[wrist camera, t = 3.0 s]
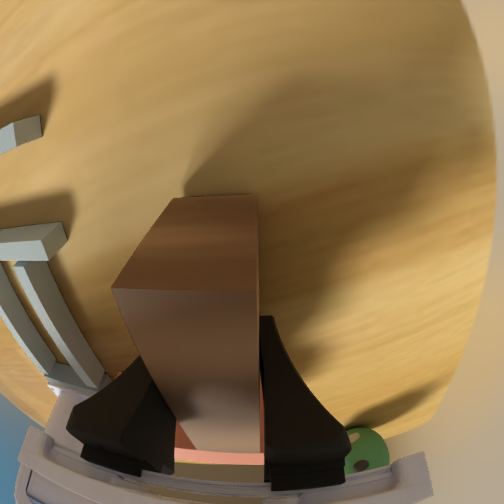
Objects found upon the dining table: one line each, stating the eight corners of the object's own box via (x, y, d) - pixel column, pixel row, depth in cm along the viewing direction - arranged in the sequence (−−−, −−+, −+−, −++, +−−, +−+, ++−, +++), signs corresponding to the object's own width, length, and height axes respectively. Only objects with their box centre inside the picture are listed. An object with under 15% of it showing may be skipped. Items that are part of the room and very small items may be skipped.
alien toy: (357, 412, 22) (373, 500, 14) (391, 420, 25) (407, 491, 16) (306, 435, 25) (312, 513, 17) (345, 442, 28) (354, 507, 19)
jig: (137, 384, 20) (131, 403, 18) (40, 362, 21) (32, 375, 19) (39, 114, 9) (13, 122, 7) (-50, 165, 9) (-66, 175, 8)
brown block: (260, 371, 17) (260, 453, 12) (208, 370, 17) (197, 450, 12) (257, 194, 11) (256, 290, 6) (173, 197, 11) (110, 288, 6)
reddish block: (265, 400, 21) (265, 464, 16) (133, 391, 21) (117, 446, 16) (264, 379, 19) (264, 453, 14) (118, 370, 19) (97, 430, 14)
